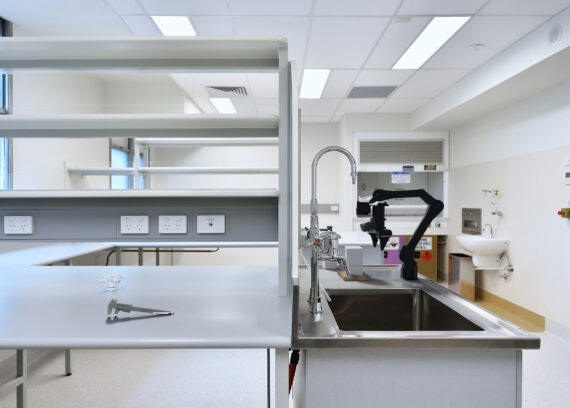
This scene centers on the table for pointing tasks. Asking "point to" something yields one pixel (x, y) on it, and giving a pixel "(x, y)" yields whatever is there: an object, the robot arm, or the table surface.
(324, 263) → the soap dispenser
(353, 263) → the supplement box
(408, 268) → the robot arm
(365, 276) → the walnut coaster
